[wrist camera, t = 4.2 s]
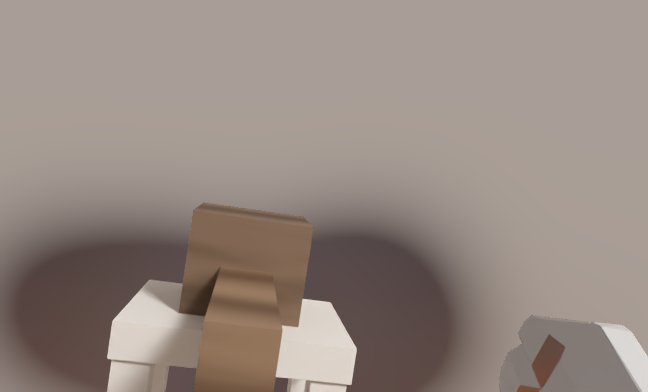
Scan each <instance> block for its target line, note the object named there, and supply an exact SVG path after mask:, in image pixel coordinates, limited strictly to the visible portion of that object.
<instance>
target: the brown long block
mask: <svg viewBox="0 0 648 392" xmlns="http://www.w3.org/2000/svg"><path fill="white" fill-rule="evenodd" d="M312 233H313V226H312V225H311V224H310V223H309V222H308V221H307V220H306V219H305V218H304V217H301V216H293V215H286V214H280V213H272V212H265V211H259V210H252V209H245V208H238V207H231V206H224V205H216V204H209V203H202V204H201V205H200V206H199V207H197V208H196V209H195V210H193V216H192V224H191V231H190V237H189V244H188V251H187V258H186V265H185V272H184V278H183V285H182V292H181V299H180V306H179V313H181V314H190V315H198V316H205V319H204V323H203V330H202V336H201V343H200V350H199V357H198V364H197V371H196V377H195V384H194V391H193V392H273V390H274V384H275V377H276V371H277V364H278V358H279V351H280V344H281V338H282V331H283V330H282V325H283V326H291V327H298V326H299V319H300V313H301V306H302V300H303V292H304V286H305V279H306V273H307V266H308V260H309V254H310V247H311V240H312Z"/></svg>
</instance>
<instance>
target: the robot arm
mask: <svg viewBox="0 0 648 392" xmlns="http://www.w3.org/2000/svg"><path fill="white" fill-rule="evenodd" d="M518 334H519V337H520V339H521V342H522V344H521V345H519V346H518V347H516V348H514V349H513V350H511V351H510V352H508V353H507V355H506V358H505V360H504V362H503V364H502V366H501V370H500V379H499V389H500V392H648V356H647V355H646V353H645V352H644V350H643V349H642V347H641V346H640V344H639V343H638V341H637V340H636V338H635V337H634V335H633V334H632V332H631V331H630V330H628V329H627V328H625V327H624V326H623V325H616V324H606V323H597V322H591V323H589V322H583V321H575V320H567V319H558V318H550V317H541V316H533V315H532V316H530V317H529V318H528V319H527V320H526V321H524V323H523V325H522V327H521V329H520V330H519V332H518Z"/></svg>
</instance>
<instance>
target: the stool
mask: <svg viewBox="0 0 648 392" xmlns="http://www.w3.org/2000/svg"><path fill="white" fill-rule="evenodd" d="M182 285H183V284H179V283H171V282H163V281H155V280H149V281H148V282H147V283H146V284H145V285H144V286H143V288H142V289H141V290H140V291H139V292H138V293H137V294H136V295H135V296H134V298H133V299H132V300H131V301H130V302H129V303H128V304H127V305H126V307H125V308H124V309H123V310H122V311H121V312H120V313H119V314H118V315H117V317H116V318H115V319H114V320H113V321H112V328H111V336H110V342H109V349H108V356H107V358H108V359H112V362H111V369H110V376H109V383H108V390H107V392H165V389H166V382H167V375H168V368H169V365H171V366H181V367H190V368H197V364H198V357H199V350H200V343H201V336H202V330H203V323H204V319H205V316H198V315H190V314H181V313H179V306H180V299H181V292H182ZM282 330H283V331H282V338H281V344H280V351H279V358H278V364H277V371H276V377H284V378H289V381H288V388H287V392H346V386H347V384H348V385H351V383H352V376H353V370H354V363H355V356H356V350H357V349H356V347H355V345H354V343H353V342H352V340H351V338H350V336H349V335H348V333H347V331H346V329H345V327H344V326H343V324H342V322H341V320H340V319H339V317H338V315H337V313H336V312H335V310H334V309H333V306H332V304H331V303H330V302H323V301H315V300H306V299H303V300H302V306H301V313H300V319H299V326H298V327H291V326H283V325H282Z"/></svg>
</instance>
